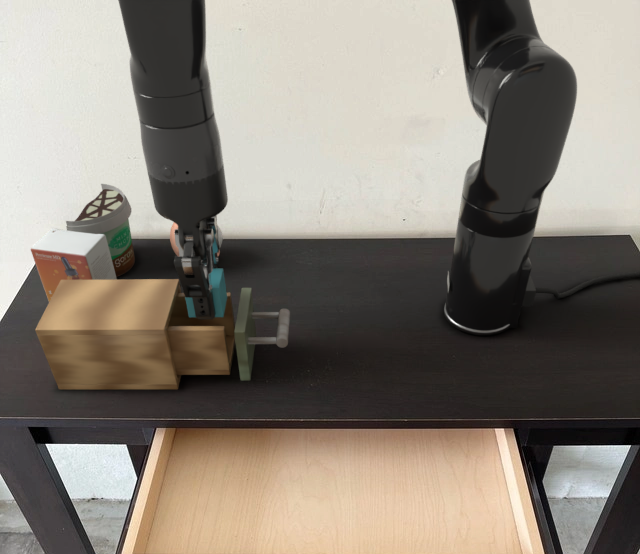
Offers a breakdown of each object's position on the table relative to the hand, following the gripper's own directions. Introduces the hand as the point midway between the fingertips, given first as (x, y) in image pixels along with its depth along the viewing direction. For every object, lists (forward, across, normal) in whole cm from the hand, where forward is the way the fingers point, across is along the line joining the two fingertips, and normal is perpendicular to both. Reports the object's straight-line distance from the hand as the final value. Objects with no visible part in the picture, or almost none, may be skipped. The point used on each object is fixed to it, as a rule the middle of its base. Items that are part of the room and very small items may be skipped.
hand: (208, 305), depth 77 cm
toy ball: (+9, +24, +6) cm, 26 cm away
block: (0, 0, 0) cm, 0 cm away
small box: (+9, +12, +20) cm, 25 cm away
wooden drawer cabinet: (+9, 0, +12) cm, 15 cm away
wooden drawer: (+8, 0, 0) cm, 8 cm away
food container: (+9, +23, +18) cm, 30 cm away
